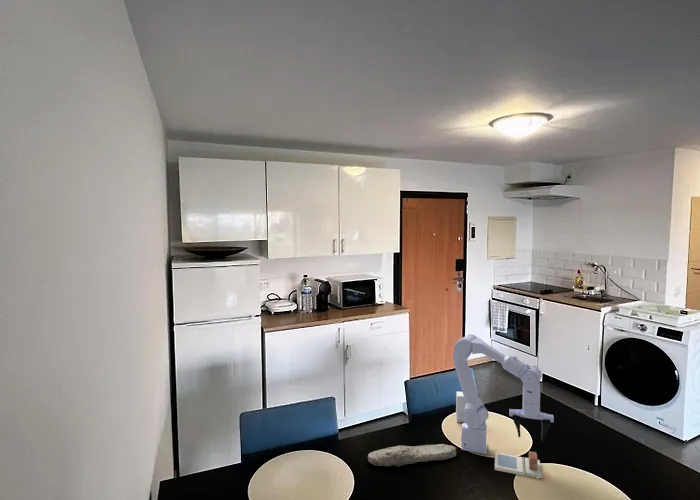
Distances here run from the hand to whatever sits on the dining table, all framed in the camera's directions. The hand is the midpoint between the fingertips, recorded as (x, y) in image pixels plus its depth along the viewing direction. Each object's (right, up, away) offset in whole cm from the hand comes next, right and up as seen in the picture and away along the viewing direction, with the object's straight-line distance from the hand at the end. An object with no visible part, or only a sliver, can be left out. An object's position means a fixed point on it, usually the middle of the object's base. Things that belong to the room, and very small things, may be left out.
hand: (530, 437), depth 144 cm
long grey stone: (-42, -11, +6) cm, 44 cm away
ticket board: (-7, -11, +1) cm, 13 cm away
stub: (0, -11, -2) cm, 11 cm away
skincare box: (-15, -9, +36) cm, 40 cm away
